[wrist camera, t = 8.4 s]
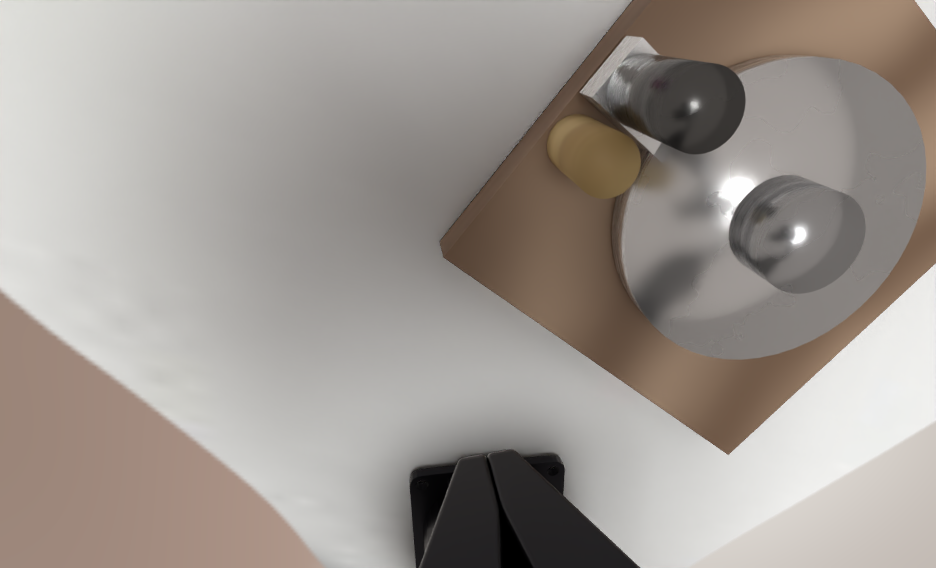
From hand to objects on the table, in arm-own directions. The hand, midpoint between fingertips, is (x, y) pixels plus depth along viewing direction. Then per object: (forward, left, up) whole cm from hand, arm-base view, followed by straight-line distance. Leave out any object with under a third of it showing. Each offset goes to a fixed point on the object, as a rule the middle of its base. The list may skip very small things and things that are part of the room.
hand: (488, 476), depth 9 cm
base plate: (0, -11, -13) cm, 17 cm away
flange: (+1, -10, -11) cm, 15 cm away
